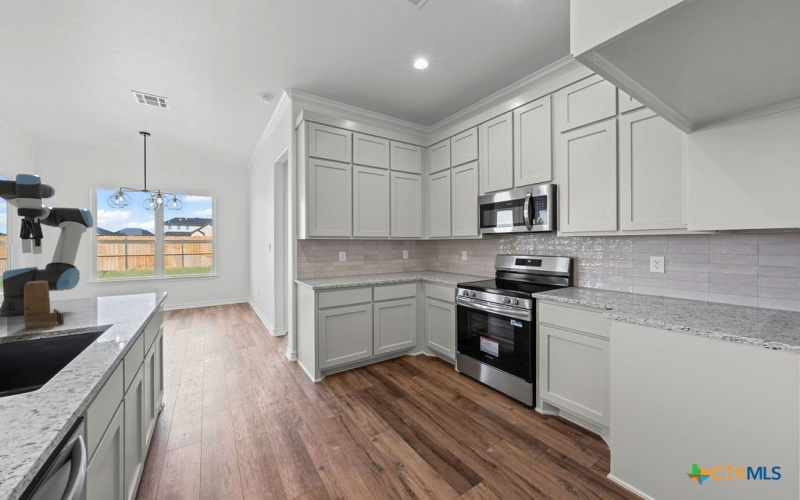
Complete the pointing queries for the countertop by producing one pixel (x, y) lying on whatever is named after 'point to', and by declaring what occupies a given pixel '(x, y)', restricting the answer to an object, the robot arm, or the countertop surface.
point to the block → (36, 298)
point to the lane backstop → (40, 321)
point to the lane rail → (59, 316)
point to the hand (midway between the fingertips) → (32, 253)
